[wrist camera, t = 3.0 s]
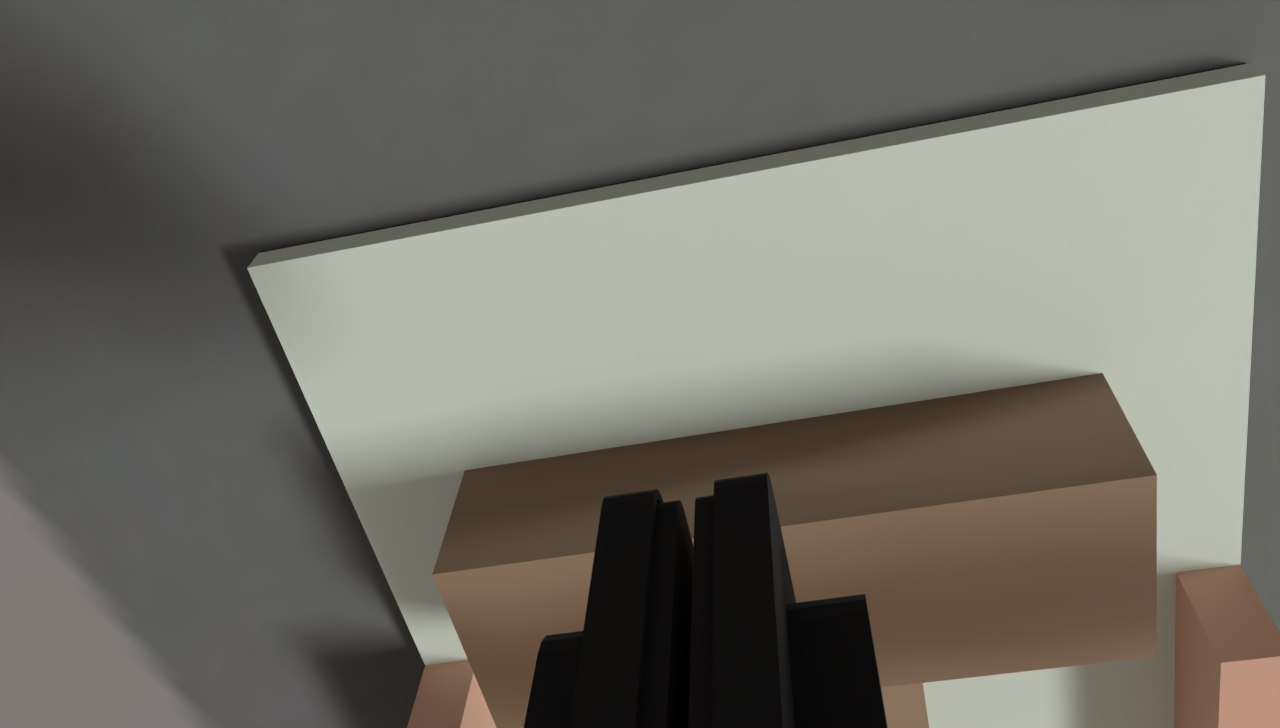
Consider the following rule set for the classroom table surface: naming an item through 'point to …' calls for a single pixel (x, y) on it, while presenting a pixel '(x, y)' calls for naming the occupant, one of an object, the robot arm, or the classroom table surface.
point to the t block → (854, 535)
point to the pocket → (1204, 663)
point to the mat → (815, 327)
